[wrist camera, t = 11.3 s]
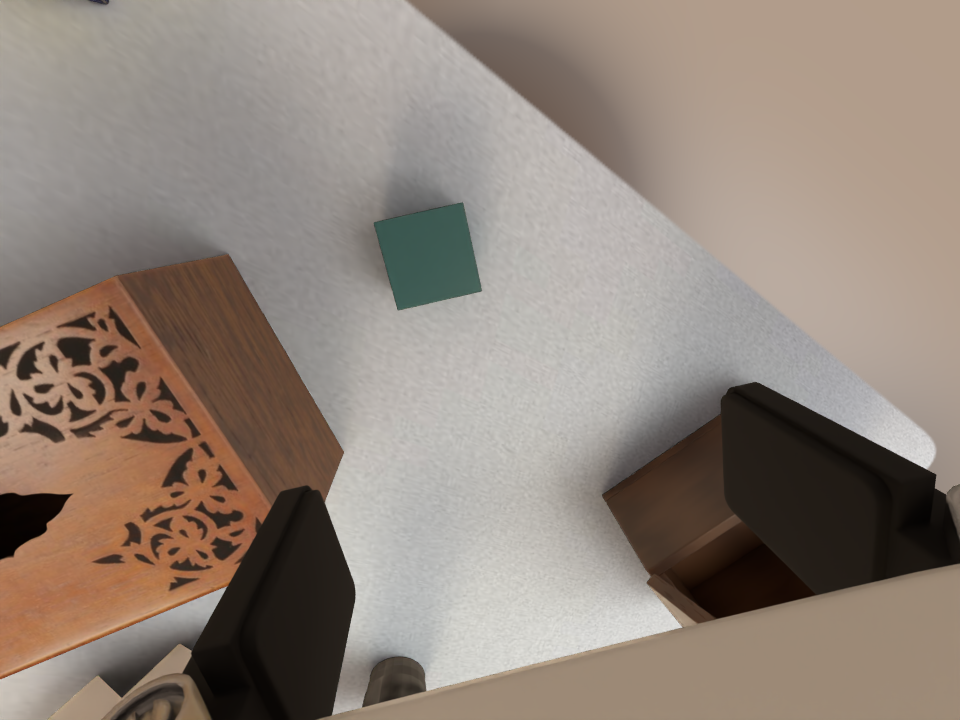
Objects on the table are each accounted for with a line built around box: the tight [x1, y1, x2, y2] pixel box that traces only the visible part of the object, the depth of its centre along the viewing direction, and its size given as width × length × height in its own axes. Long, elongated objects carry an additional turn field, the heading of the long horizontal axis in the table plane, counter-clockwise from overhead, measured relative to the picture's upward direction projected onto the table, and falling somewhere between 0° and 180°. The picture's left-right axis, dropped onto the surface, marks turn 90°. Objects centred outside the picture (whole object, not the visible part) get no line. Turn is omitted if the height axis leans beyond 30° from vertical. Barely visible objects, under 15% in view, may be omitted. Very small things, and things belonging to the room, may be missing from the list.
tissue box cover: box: [0, 254, 344, 679], centre depth 25 cm, size 26×14×10 cm, turn 112°
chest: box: [602, 414, 816, 619], centre depth 32 cm, size 14×13×8 cm
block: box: [374, 203, 482, 310], centre depth 26 cm, size 5×5×5 cm
